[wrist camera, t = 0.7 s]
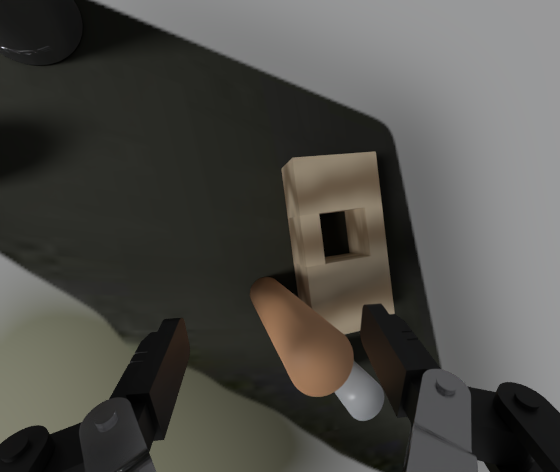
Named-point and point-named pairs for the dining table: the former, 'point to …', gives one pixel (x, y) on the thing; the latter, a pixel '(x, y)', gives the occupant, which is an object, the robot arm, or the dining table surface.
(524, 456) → the robot arm
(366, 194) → the wooden block with hole
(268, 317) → the long dowel
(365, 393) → the short dowel
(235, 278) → the dining table surface
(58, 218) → the dining table surface
